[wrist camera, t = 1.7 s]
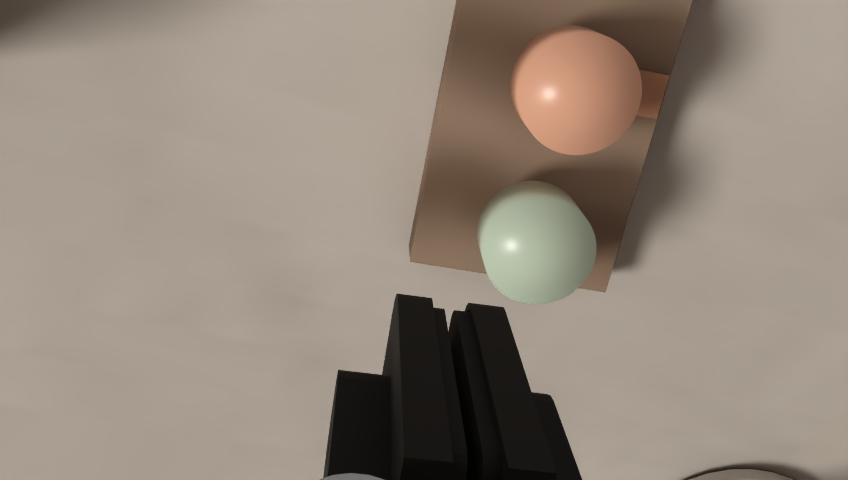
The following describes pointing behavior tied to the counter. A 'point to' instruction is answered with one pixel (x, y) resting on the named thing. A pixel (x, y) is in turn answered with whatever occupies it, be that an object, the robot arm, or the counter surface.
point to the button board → (513, 142)
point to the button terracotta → (576, 89)
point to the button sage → (535, 242)
